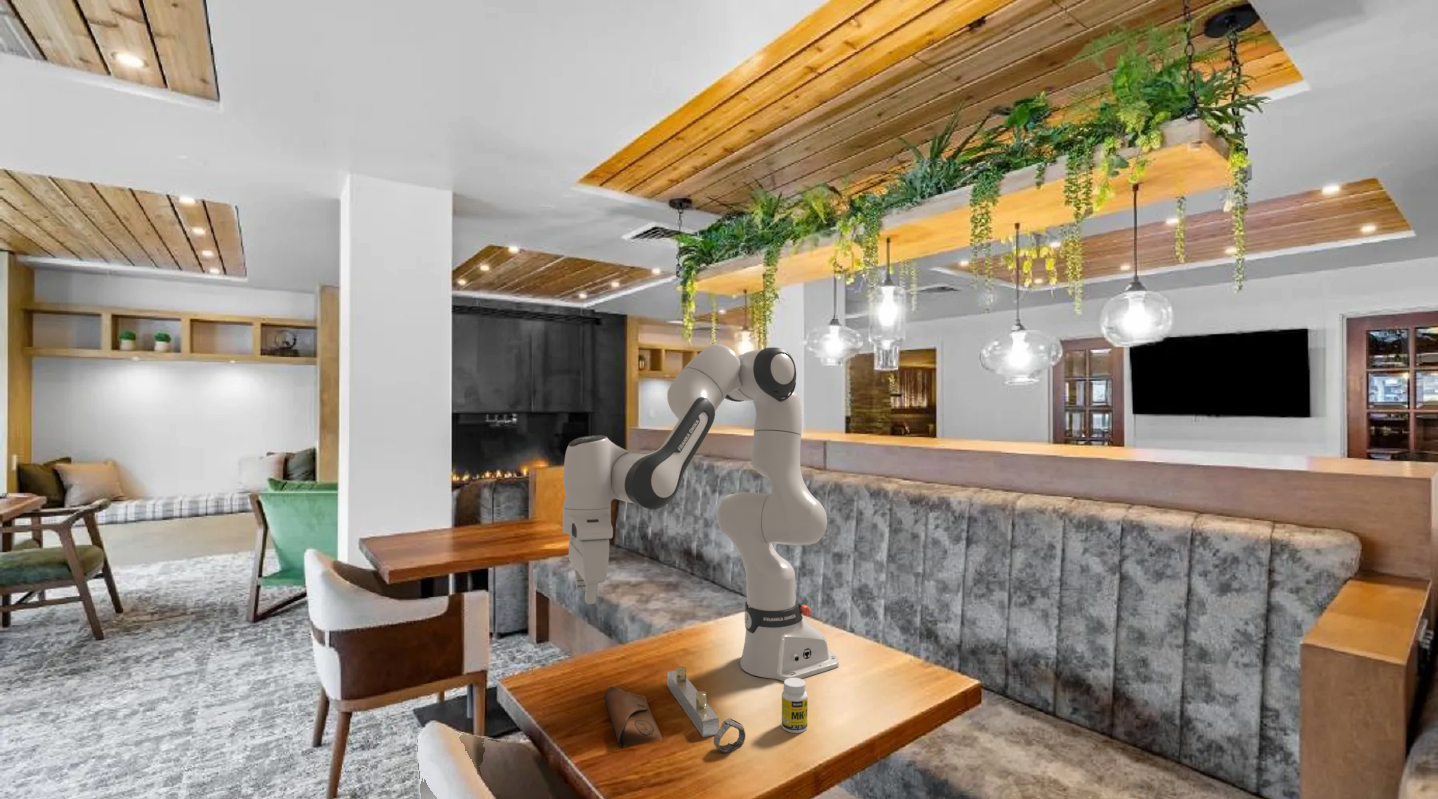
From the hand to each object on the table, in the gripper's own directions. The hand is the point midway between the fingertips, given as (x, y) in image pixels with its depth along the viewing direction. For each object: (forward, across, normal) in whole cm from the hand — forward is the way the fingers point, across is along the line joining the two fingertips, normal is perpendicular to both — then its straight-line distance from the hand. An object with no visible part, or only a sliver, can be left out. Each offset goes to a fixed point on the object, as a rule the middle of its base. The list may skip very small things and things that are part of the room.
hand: (585, 596), depth 121 cm
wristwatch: (+24, +17, +22) cm, 37 cm away
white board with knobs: (+24, +1, +21) cm, 31 cm away
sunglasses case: (+25, +1, +9) cm, 26 cm away
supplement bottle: (+24, +15, +36) cm, 46 cm away
